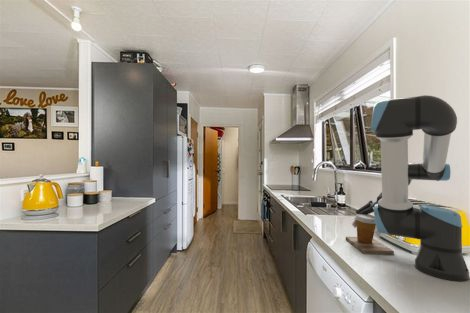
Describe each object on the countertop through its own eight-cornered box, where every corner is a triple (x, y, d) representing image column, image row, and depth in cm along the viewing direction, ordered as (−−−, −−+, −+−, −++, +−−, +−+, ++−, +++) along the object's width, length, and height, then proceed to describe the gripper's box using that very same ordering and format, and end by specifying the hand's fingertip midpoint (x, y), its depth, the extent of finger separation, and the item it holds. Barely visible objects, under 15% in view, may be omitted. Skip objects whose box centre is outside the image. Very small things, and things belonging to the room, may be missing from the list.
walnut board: (393, 254, 104) (393, 251, 104) (363, 253, 104) (363, 249, 104) (371, 240, 122) (371, 237, 123) (345, 239, 123) (345, 236, 123)
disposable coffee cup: (370, 238, 120) (372, 214, 120) (379, 245, 111) (381, 220, 110) (350, 236, 121) (352, 213, 121) (358, 243, 112) (360, 218, 111)
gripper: (418, 206, 106) (392, 243, 102) (371, 198, 130) (349, 227, 126) (409, 195, 105) (382, 231, 100) (364, 189, 129) (340, 218, 124)
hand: (364, 229), depth 113 cm, fingers open, 13 cm apart
